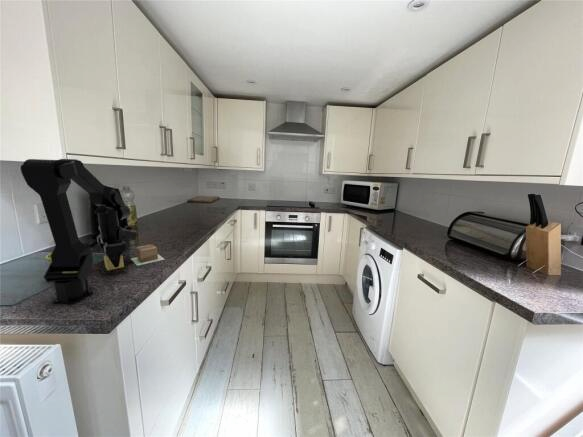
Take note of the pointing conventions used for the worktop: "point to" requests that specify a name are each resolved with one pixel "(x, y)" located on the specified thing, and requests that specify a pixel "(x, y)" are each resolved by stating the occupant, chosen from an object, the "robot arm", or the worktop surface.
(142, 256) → the walnut block
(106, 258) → the mustard cube
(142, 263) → the baseplate
